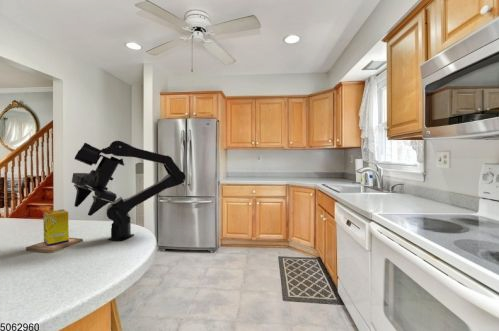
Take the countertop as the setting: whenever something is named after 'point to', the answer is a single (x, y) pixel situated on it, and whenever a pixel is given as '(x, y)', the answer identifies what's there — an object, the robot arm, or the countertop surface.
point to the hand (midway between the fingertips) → (82, 210)
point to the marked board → (50, 249)
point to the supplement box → (56, 227)
